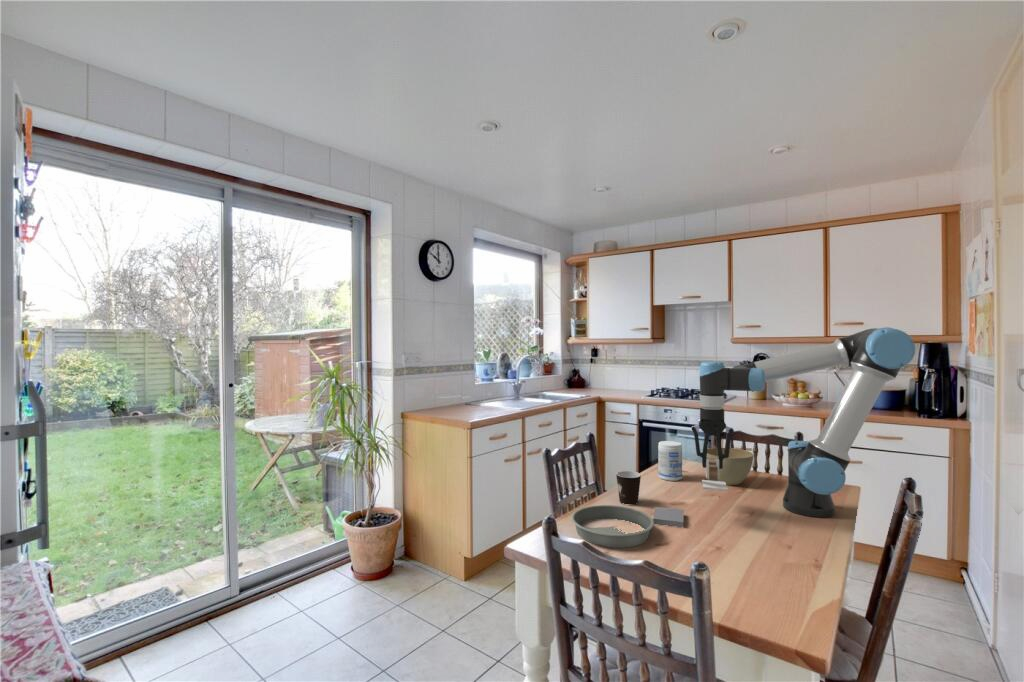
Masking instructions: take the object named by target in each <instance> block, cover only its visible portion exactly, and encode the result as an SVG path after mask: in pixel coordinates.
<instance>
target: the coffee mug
mask: <svg viewBox="0 0 1024 682" xmlns="http://www.w3.org/2000/svg"><path fill="white" fill-rule="evenodd" d="M615 475H616V482H617V491H618V492H617V493H618V501H619V503H620V502H621V503H620V504H622V503H624V504H623V505H625V504H636V503H639V496H640V487H641V478H642V474H641V473H639V472H637V471H633V470H632V471H631V470H620V471H617V472H616V473H615ZM636 505H637V504H636Z"/></svg>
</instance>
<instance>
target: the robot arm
mask: <svg viewBox="0 0 1024 682" xmlns="http://www.w3.org/2000/svg"><path fill="white" fill-rule="evenodd" d="M915 355H916V344H915V342H914V340H913V338H912V337H911V336H910V335H909V334H907V333H906V332H905V331H903V330H901V329H897V328H892V327H887V326H886V327H880V328H869V329H864V330H862V331H858V332H856V333H854V334H851V335H847V336H843V337H839V338H836V339H835V340H834V342H832V343H828V344H824V345H819V346H815V347H811V348H807V349H802V350H799V351H794V352H791V353H787V354H786V353H785V354H782V355H779V356H774V357H771V358H766V359H762V360H757V361H754V362H750V363H744V364H738V365H734V366H733V367H725V363H724V362H723V361H703V362H701V363H700V365H699V406H700V408H699V422H698V424H695V425H692V426H691V431H692V432H693V434H694V435H693V436H694V443H695V451H696V456H698V457H700V458H701V461H702V462H701V463H702V468H705V478H706V479H707V480H709V458H708V457H706V456H707V449H709V440H710V437H711V436H714V437H715V443H716V448H717V451H718V458H716V465H717V468H718V479H719V469H722V468H723V459H724V458H728V457H729V450H730V448H731V441H732V435H733V434H734V432H735V430H734V428H733V427H729V426H727V424H726V422H725V409H724V408H725V391H736V392H737V391H740V392H751V393H752V392H763V391H764V390H765V388H766V382H771V381H775V380H776V381H777V380H781V379H785V378H789V377H790V378H791V377H794V376H798V375H802V374H806V373H812V372H816V371H821V370H825V369H829V368H834V367H839V366H843V367H845V368H848V367H852V372H851V374H850V375H849V377H848V379H847V381H846V383H845V385H844V387H843V389H842V391H841V393H840V394H839V396H838V399H836V400H837V401H836V402H835V404H834V406H833V407H832V410H831V412H830V414H829V415H828V417H827V419H826V420H825V423H824V425H823V427H822V429H821V431H820V432H819V435H818V436H817V438H815V439H811V440H809V441H808V440H791V441H789V442H788V444H787V461H788V462H787V467H788V469H787V471H788V472H787V473H788V474H787V475H788V479H787V481H788V482H787V487H786V489H785V492H784V494H783V498H782V507H783V508H784V509H785V510H787V511H789V512H791V513H794V514H798V515H802V516H807V517H812V518H813V517H814V518H828V517H832V516H835V514H836V506H835V503H834V499H833V497H832V494H835V493H837V492H838V491H840V490H841V489H843V487H844V486H845V484H846V480H847V479H846V478H847V477H846V470H847V468H848V466H849V464H850V462H851V458H850V456H849V451H850V449H851V447H852V446H853V444H854V443H855V440H856V438H857V436H858V434H859V432H860V431H861V429H862V427H863V425H864V423H865V422H866V420H867V418H868V416H869V414H870V413H871V410H872V409H873V407H874V405H875V403H876V402H877V400H878V397H879V396H880V394H881V393H882V391H883V388H884V386H886V385H885V384H886V383H888V382H890V381H892V380H895V379H896V378H897V376H898V375H899V372H900V370H901V369H902V368H903V367H905V366H907V365H908V364H910V363H911V362H912V361H913V360H914V357H915ZM700 430H701V431H702V432H703V434H704V439H703V446H702V452H701V447H700V439H699V431H700ZM724 430H725V433H726V434H725V435H726V436H725V443H724V448H725V451H724V454H722V448H723V447H722V443H721V441H722V440H721V436H720V435H722V433H723V432H724Z"/></svg>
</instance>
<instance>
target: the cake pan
mask: <svg viewBox="0 0 1024 682" xmlns="http://www.w3.org/2000/svg"><path fill="white" fill-rule="evenodd" d="M570 518H571V521H572V523H573V525H575V530H576V533H577V534H578V536H579V538H580V539H583V540H584V541H586V542H588V543H590V544H592V545H593V544H594V545H597V546H600V547H607V548H629V547H634V546H635V545H636V546H638V545H641V544H643V543H645V542H646V541H647V540H648V539H649V535H650V531H651V530H652V529H653V527H654V526H655V524H654V521H653V518H652V517H651V515H649V514H648V513H646V512H644V511H641V510H639V509H635V508H633V507H628V506H623V505H616V504H615V505H613V504H612V505H611V504H598V505H596V504H595V505H590V506H584V507H582V508H579V509H577V510H575V511H574V512H573V513H572V514H571V517H570ZM613 519H617V520H616V521H621V520H625V521H624V522H626V521H629V522H628V523H630V522H632V523H635V524H638V525H640V526H641V527H642V528H644V529H645V530H643V531H639V532H635V533H628V534H625V532H624V533H623V532H621V531H622V530H621V529H620V530H621V531H619V530H618V529H617V528H615V527H616V526H604V527H601V526H600V527H591V526H582V525H583V524H585V523H588V522H592V521H599V520H600V521H601V520H613ZM613 527H614V528H615V529H614V528H613ZM618 531H619V532H618ZM647 538H648V539H647Z"/></svg>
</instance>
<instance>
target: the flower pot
mask: <svg viewBox="0 0 1024 682" xmlns="http://www.w3.org/2000/svg"><path fill="white" fill-rule="evenodd" d="M721 448H722V454H724V451H725V447H721ZM706 457H708V458H711V459H715V462H716V458H718V451H717V447H711V448H708V449H707V456H706ZM753 462H754V453H753V452H751V451H750V450H746V449H741V448H734V447H733V448H732V447H730V450H729V457H728V458H724V459H723V468H722V469H719V479H718V481H723V482H725V483H726V486H727V485H728V486H738V485H741V484H742V483H743V482H744V480H745V479H746V478H747V476H748V475H749V473H750V471H751V469H752V467H753V464H754V463H753Z"/></svg>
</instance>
